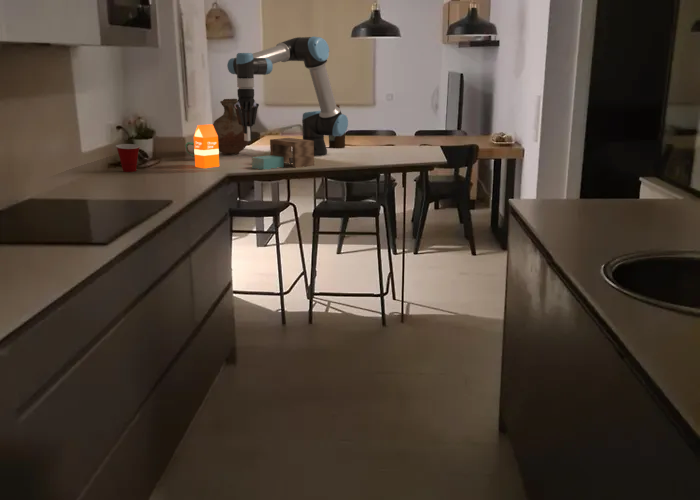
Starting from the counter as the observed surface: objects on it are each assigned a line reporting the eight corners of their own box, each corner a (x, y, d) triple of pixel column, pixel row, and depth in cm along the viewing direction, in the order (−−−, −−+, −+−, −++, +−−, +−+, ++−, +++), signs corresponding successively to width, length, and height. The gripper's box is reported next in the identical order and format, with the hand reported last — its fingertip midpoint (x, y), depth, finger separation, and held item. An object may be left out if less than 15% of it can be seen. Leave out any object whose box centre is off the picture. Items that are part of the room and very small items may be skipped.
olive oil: (339, 146, 416) (339, 104, 409) (349, 147, 408) (349, 104, 401) (324, 147, 410) (324, 104, 403) (334, 148, 402) (334, 105, 395)
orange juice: (195, 166, 330) (192, 124, 325) (210, 164, 337) (207, 123, 331) (204, 168, 325) (202, 125, 320) (219, 166, 331) (217, 124, 326)
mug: (210, 158, 361) (209, 139, 358) (217, 160, 352) (216, 140, 350) (183, 160, 353) (182, 140, 351) (189, 162, 345) (188, 142, 343)
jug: (241, 150, 392) (239, 97, 384) (257, 155, 374) (255, 98, 366) (205, 153, 381) (202, 98, 373) (219, 157, 363) (216, 99, 355)
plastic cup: (128, 173, 309) (125, 146, 306) (112, 171, 315) (110, 145, 312) (147, 170, 318) (145, 144, 315) (131, 168, 324) (129, 143, 320)
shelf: (289, 161, 349) (288, 137, 345) (314, 165, 335) (313, 140, 332) (270, 163, 340) (269, 139, 337) (295, 167, 327) (294, 142, 324)
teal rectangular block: (263, 169, 321) (263, 159, 319) (252, 167, 327) (251, 157, 326) (283, 167, 329) (283, 156, 327) (272, 165, 335) (271, 155, 334)
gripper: (252, 87, 318) (254, 139, 324) (228, 88, 309) (231, 141, 315) (262, 88, 312) (263, 140, 318) (238, 88, 304) (240, 142, 310)
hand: (247, 140), depth 317 cm, fingers closed
